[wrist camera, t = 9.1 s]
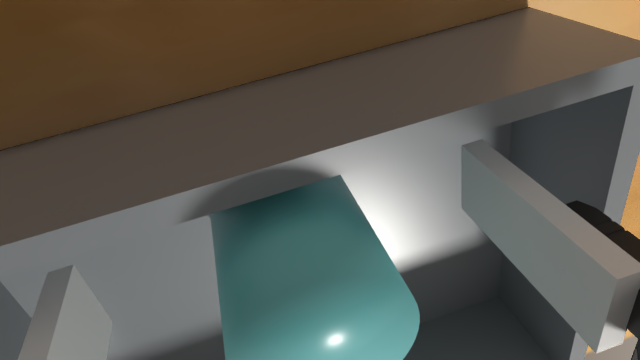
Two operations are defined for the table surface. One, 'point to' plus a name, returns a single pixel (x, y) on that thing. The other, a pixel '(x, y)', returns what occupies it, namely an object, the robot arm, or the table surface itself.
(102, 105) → the table surface
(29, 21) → the table surface
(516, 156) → the tote
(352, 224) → the teal cylinder
